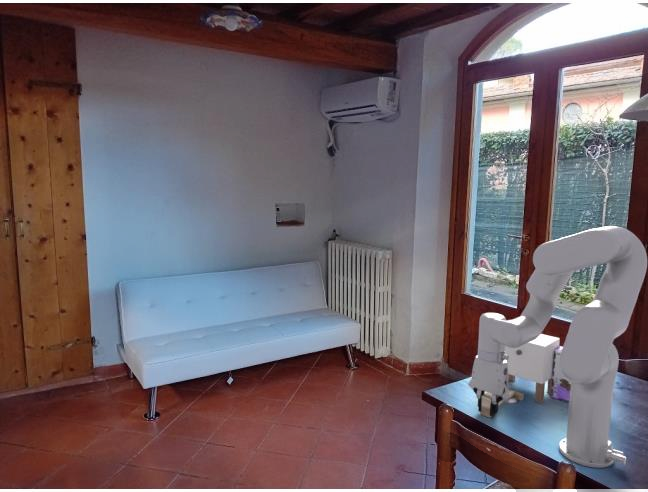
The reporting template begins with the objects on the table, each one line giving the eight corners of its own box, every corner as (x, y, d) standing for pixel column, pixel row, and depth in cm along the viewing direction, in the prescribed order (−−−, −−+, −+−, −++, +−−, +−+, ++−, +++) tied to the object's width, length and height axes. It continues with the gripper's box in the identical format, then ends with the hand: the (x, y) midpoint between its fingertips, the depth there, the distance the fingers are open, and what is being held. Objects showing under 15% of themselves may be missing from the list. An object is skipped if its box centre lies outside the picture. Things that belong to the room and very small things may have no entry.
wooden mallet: (494, 419, 144) (495, 400, 143) (476, 412, 148) (477, 394, 147) (523, 399, 157) (524, 382, 157) (505, 393, 162) (506, 376, 161)
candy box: (550, 397, 159) (553, 349, 157) (556, 391, 164) (559, 345, 161) (596, 411, 150) (601, 360, 148) (601, 405, 154) (606, 355, 152)
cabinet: (555, 392, 163) (559, 338, 161) (539, 404, 154) (544, 347, 152) (509, 378, 175) (513, 327, 172) (492, 388, 166) (495, 335, 163)
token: (519, 401, 157) (519, 397, 157) (512, 406, 154) (512, 402, 153) (504, 396, 161) (504, 392, 160) (497, 401, 157) (497, 397, 157)
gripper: (523, 358, 141) (519, 418, 144) (472, 344, 153) (469, 399, 155) (511, 365, 136) (507, 426, 138) (459, 350, 148) (456, 407, 150)
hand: (487, 411), depth 147 cm, fingers closed on wooden mallet, 3 cm apart
